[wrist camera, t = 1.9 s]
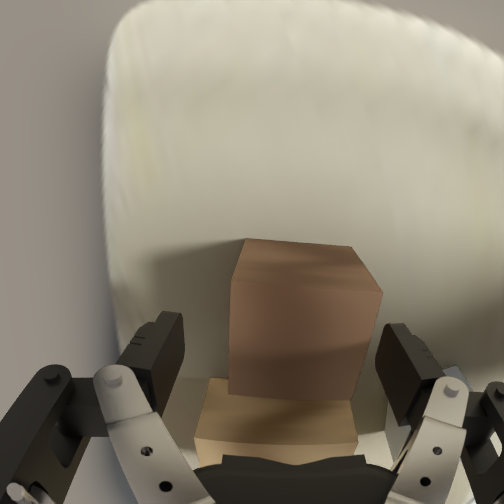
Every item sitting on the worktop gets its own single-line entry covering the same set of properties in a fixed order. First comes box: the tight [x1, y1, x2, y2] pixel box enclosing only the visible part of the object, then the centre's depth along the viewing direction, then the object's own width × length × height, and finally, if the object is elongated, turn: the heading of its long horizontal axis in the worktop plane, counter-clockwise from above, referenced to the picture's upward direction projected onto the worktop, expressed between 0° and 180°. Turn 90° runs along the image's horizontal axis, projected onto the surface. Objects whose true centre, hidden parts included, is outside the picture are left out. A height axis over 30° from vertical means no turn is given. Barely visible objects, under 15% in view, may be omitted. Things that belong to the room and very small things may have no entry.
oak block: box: [194, 378, 358, 468], centre depth 16 cm, size 8×8×5 cm
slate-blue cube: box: [384, 366, 474, 462], centre depth 15 cm, size 5×5×5 cm
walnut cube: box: [228, 238, 383, 400], centre depth 13 cm, size 5×5×5 cm
